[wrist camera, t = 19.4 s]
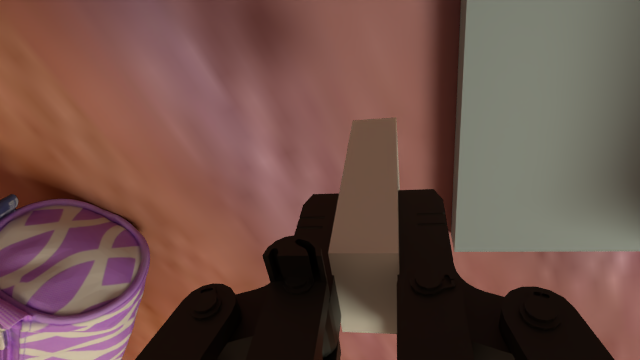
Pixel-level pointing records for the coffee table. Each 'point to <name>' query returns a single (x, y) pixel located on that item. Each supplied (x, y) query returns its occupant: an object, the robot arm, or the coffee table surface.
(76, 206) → the pencil case
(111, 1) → the coffee table surface
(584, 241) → the vise
